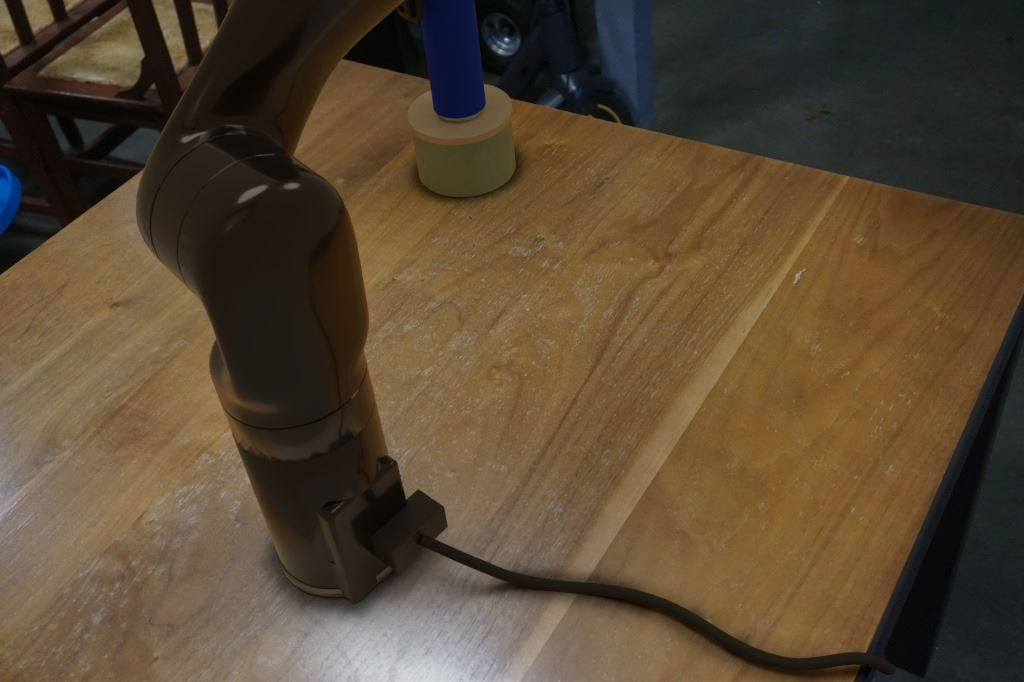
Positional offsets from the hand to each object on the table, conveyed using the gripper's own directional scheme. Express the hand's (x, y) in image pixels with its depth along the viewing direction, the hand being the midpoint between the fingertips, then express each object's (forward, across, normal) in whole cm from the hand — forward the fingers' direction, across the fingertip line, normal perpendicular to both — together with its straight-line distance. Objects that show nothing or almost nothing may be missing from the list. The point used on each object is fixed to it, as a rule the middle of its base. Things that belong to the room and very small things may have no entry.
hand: (445, 0), depth 100 cm
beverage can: (+12, 0, 0) cm, 12 cm away
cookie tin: (+18, 0, 0) cm, 18 cm away
